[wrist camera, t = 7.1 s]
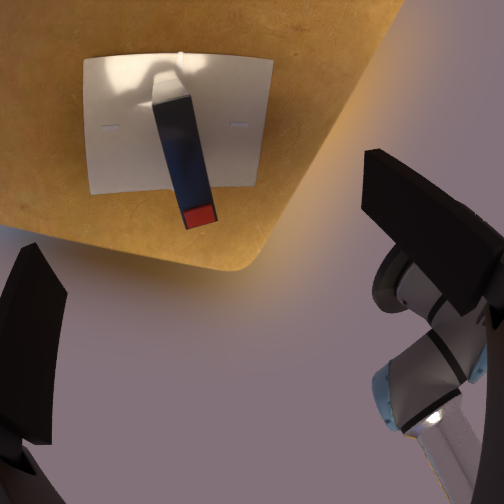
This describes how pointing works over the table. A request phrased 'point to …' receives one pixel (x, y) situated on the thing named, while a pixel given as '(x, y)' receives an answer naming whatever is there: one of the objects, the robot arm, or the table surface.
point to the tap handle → (183, 152)
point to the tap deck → (144, 126)
